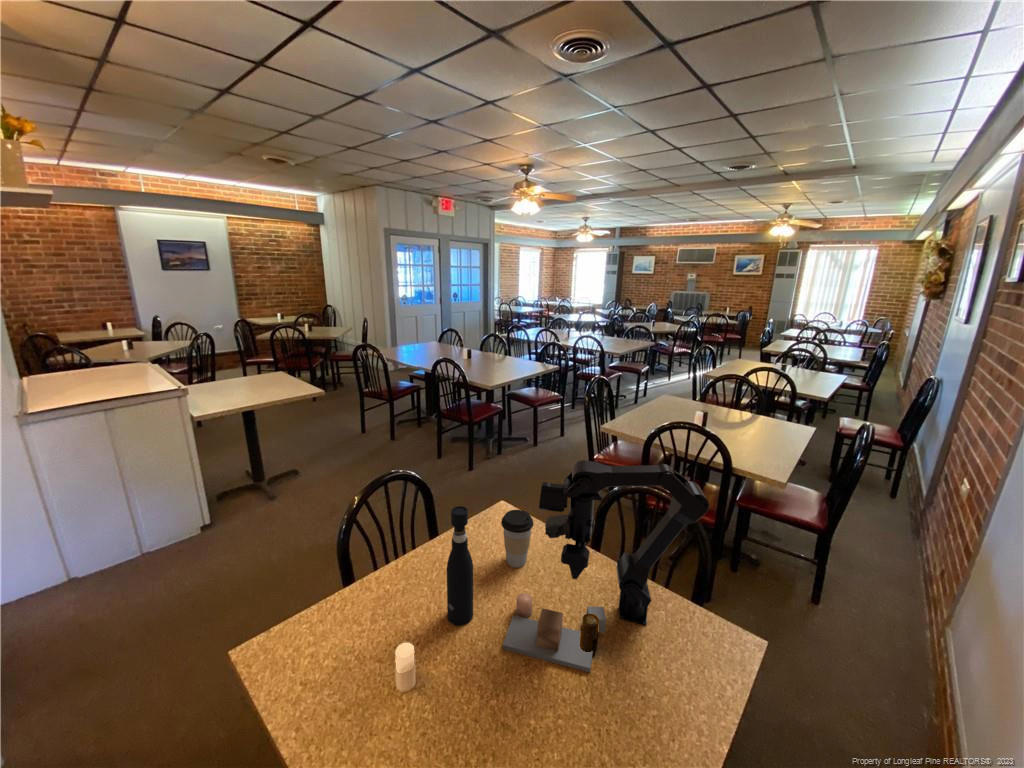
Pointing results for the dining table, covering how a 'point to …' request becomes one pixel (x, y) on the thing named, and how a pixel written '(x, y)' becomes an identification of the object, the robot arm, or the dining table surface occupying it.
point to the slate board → (525, 642)
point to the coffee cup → (517, 536)
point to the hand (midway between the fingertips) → (576, 566)
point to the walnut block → (549, 629)
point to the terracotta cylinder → (524, 605)
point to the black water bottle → (459, 572)
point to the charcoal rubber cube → (601, 616)
